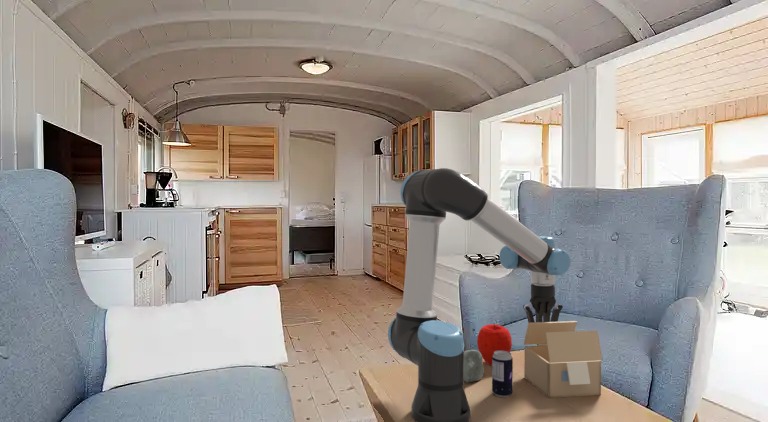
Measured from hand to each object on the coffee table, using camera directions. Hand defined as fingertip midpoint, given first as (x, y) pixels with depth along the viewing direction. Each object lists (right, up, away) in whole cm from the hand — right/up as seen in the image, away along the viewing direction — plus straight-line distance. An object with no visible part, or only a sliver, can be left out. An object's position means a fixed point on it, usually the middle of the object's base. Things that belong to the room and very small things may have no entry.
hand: (542, 355), depth 159 cm
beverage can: (-18, -6, -19) cm, 27 cm away
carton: (+1, -5, -13) cm, 14 cm away
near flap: (+2, +6, -21) cm, 22 cm away
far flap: (0, +6, -5) cm, 8 cm away
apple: (-14, -5, +7) cm, 17 cm away
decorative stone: (-26, -6, -5) cm, 27 cm away
